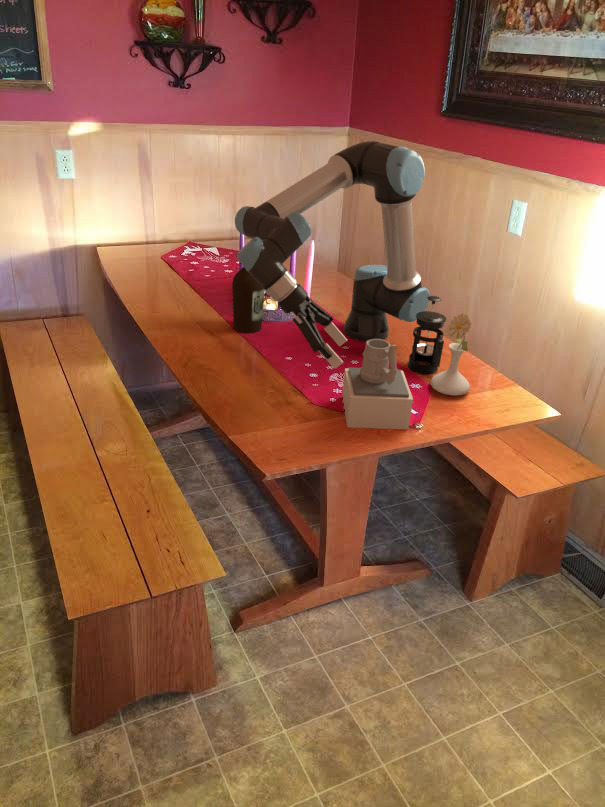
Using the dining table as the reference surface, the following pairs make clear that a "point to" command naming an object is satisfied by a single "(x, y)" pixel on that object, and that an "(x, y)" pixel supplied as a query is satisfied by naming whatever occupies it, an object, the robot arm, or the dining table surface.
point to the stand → (376, 402)
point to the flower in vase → (454, 359)
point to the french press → (424, 350)
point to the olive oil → (247, 302)
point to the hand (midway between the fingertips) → (341, 354)
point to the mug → (378, 362)
